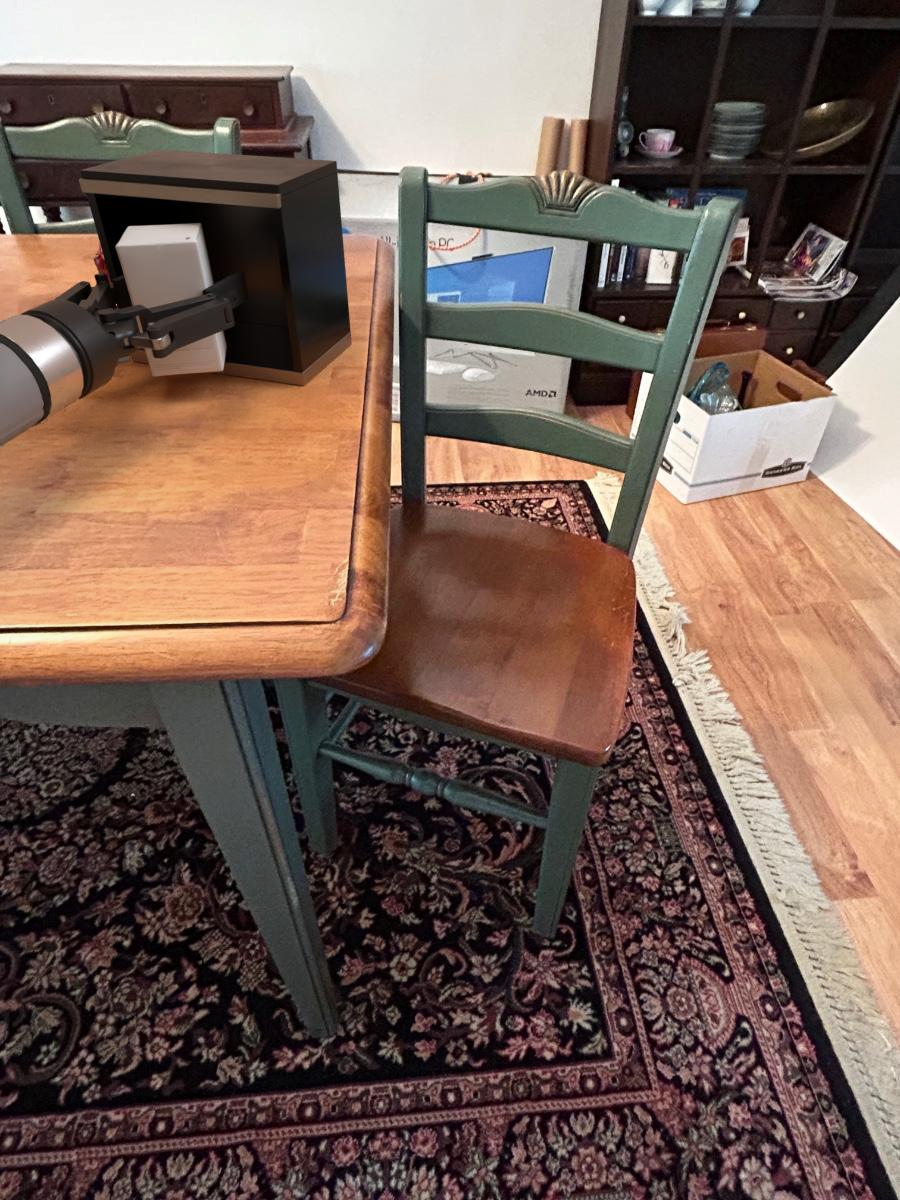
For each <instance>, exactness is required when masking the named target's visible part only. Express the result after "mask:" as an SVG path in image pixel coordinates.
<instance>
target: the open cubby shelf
mask: <svg viewBox="0 0 900 1200" xmlns="http://www.w3.org/2000/svg"><path fill="white" fill-rule="evenodd" d="M79 173H80V177H81V178H79V179H78V182H79V186H80V189H81V192H82V193H84V194H86V198H87V201H88V205H89V206H88V207H89V209H90V212H91V217H92V219H93V223H94V227H95V231H96V233H97V239H98V241H99V243H100V245H101V248H102V252H103V256H104V259H105V263H106V266H107V270H108V273H109V277H110V281H111V282H112V280H113V279H115V278H117V277H119V276H122V275H124V273H123V270H122V266H121V263H120V260H119V257H118V254H117V251H116V248H115V246H116V245H117V243H118V242H119V241H120V239H121V237H122V236H123V234H124V232H125V231H126V229H127V227H128V226H149V225H171V224H190V223H201V225H202V229H203V234H204V239H205V244H206V248H207V253H208V258H209V263H210V267H211V272H212V277H213V282H214V284H215V283H217V282H219V281H221V280H223V279H224V278H226V277H228V276H230V275H232V274H234V273H236V272H237V271H239V272H244V274H245V280H246V286H247V292H248V298H249V300H247V301H245V302H244V303H242V304H240V305H239V306H237V307H235V308H234V309H232V312H233V317H234V323H235V326H233V327H231V328H228V329H226V330H224V336H225V340H226V345H227V347H226V354H225V362H224V368H223V371H216V372H209V373H210V374H217V375H224V376H225V375H226V376H232V377H240V378H246V379H252V380H253V379H254V380H260V381H267V382H275V383H282V384H287V385H288V384H289V385H293V386H302V387H305V386H306V385H307V384H308V383H309V382H310V381H311V380H313V379H314V378H315V377H316V376H317V375H319V373H321V372H322V371H323V370H324V369H326V367H327V366H329V365H330V364H331V363H332V362H333V361H334V360H336V359H337V358H338V357H339V356H340V355H341V354H343V352H345V351H346V350H347V349H348V348H349V347H350V346H352V344H353V343H352V341H353V340H352V332H351V322H350V320H351V318H350V308H349V305H350V304H349V296H348V282H347V271H346V270H347V269H346V260H345V247H344V245H345V244H344V236H343V235H344V234H343V223H342V221H343V220H342V211H341V199H340V197H341V196H340V187H339V186H340V185H339V176H338V175H339V174H338V163H337V160H328V159H313V158H312V159H311V158H295V157H282V156H281V157H279V156H264V155H250V154H249V155H248V154H234V153H233V154H232V153H217V152H203V151H187V150H173V149H172V150H171V149H155V150H151V151H147V152H143V153H140V154H136V155H132V156H128V157H124V158H120V159H116V160H113V161H109V162H105V163H102V164H98V165H96V166H95V165H94V166H91V167H87V168H83V169H80V170H79ZM117 306H118V307H117V310H118V309H122V308H119V305H118V302H117ZM130 307H131V306H130ZM134 317H135V318H136V316H134ZM130 356H131V359H132V362H135V363H141V364H148V365H149V362H148V358H147V355H146V352H145V349H141V350H138V351H137V352H135V353H132V354H131V355H130Z"/></svg>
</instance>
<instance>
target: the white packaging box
mask: <svg viewBox="0 0 900 1200" xmlns="http://www.w3.org/2000/svg"><path fill="white" fill-rule="evenodd" d="M115 248H116V251H117V254H118V257H119V260H120V263H121V266H122V270H123V273H124V277H125V280H126V284H127V287H128V291H129V294H130V298H131V302H132V306H135V305H143V306H145V307H147V308H152V307H156V306H160V305H164V304H168V303H173V302H177V301H181V300H185V299H189V298H193V297H198V296H202V295H203V292H202V290H204V289H206V288H208V287H210V286H211V285H213V284H214V282H213V277H212V272H211V267H210V263H209V258H208V253H207V248H206V244H205V239H204V234H203V229H202V225H201V223H190V224H171V225H149V226H128V227H127V229H126V231H125V232H124V234H123V236H122V237H121V239H120V241H119V242H118V243H117V245H116V246H115ZM136 320H137V323H138V327H139V330H140V333H143V331H142V327H141V323H140V320H139V316H136ZM226 347H227V345H226V340H225V336H224V331H221V332H219V333H216V334H214V335H211V336H209V337H206V338H204V339H201V340H199V341H196V342H194V343H191V344H189V345H186V346H184V347H181V348H179V349H176V350H175V351H174V352H172V353H171V354H170V355H168V356H167V357H165V358H161V359H159V358H154V357H153V353H152V349H147V348H145V352H146V355H147V358H148V362H149V364H148V365H149V369H150V372H151V375H152V376H153V377H161V376H173V375H185V374H201V373H210V372H216V371H223V368H224V362H225V354H226Z"/></svg>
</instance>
